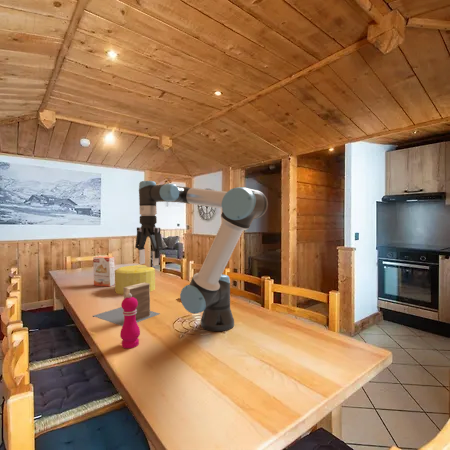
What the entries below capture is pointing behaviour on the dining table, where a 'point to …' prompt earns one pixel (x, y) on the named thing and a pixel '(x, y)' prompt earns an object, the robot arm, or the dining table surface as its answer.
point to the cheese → (134, 277)
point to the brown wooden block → (140, 298)
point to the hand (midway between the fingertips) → (148, 264)
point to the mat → (119, 316)
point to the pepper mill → (130, 323)
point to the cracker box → (104, 271)
